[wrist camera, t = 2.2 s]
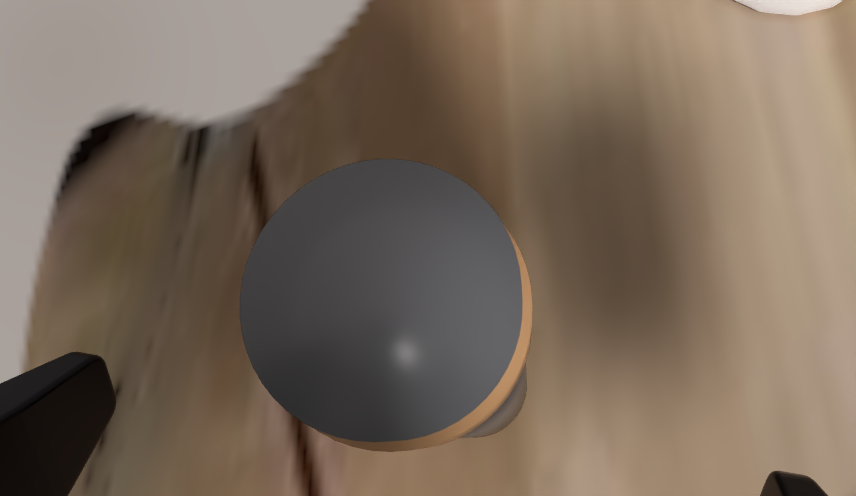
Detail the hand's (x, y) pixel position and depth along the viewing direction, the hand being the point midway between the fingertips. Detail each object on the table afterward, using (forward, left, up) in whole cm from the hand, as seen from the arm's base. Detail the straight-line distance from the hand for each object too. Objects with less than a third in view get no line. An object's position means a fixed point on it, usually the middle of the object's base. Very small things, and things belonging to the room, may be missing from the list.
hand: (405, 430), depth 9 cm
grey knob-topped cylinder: (+1, 0, -9) cm, 9 cm away
